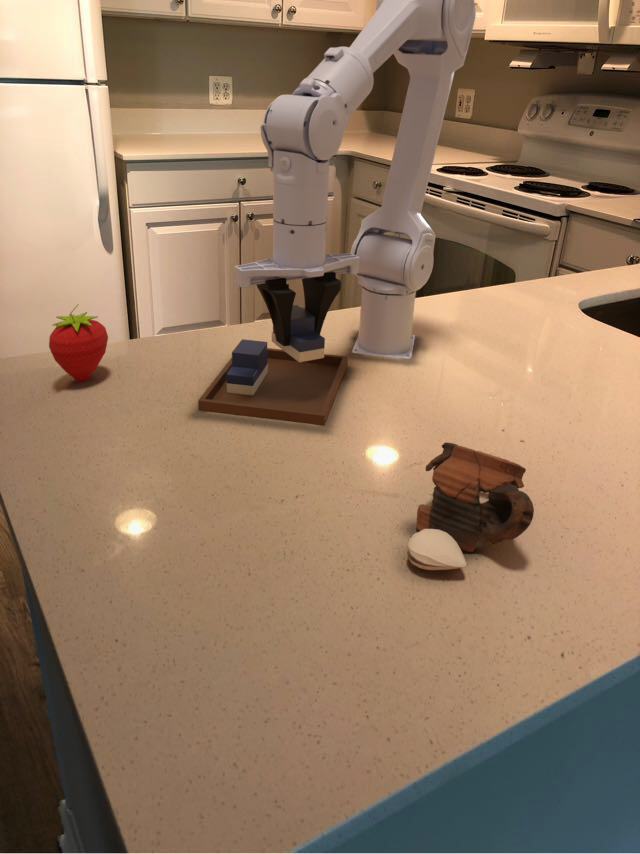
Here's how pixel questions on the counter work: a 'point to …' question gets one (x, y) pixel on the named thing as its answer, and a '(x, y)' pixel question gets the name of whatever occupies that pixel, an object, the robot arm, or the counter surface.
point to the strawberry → (78, 344)
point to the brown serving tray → (282, 390)
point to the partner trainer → (247, 367)
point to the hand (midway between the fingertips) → (297, 340)
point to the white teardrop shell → (435, 551)
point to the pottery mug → (476, 497)
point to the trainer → (303, 337)
